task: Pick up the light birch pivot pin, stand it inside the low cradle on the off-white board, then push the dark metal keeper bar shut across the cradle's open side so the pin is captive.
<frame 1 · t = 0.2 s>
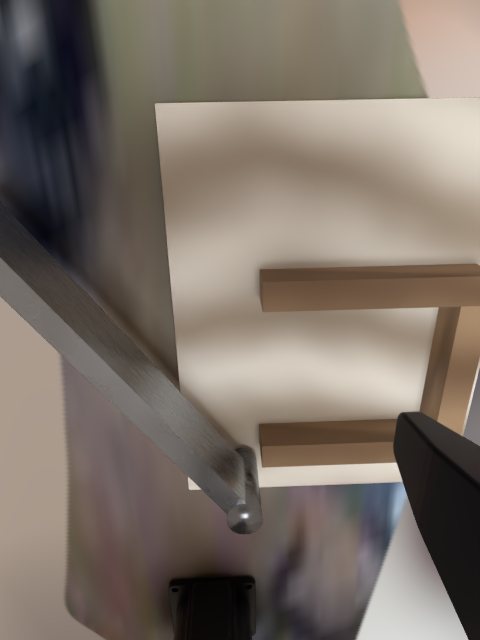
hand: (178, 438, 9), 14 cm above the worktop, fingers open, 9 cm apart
keeper bar: (129, 372, 20), point 4 cm above the worktop, hinge at 35.0°
cradle: (353, 353, 24), on the worktop
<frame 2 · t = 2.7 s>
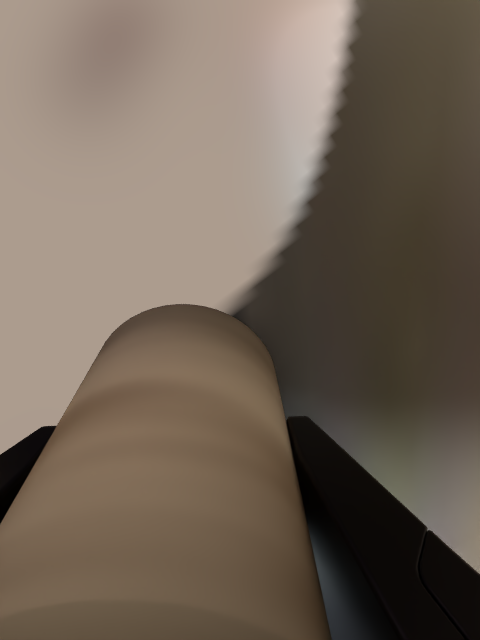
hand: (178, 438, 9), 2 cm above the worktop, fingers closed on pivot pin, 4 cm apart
pivot pin: (186, 388, 10), on the worktop, touching gripper
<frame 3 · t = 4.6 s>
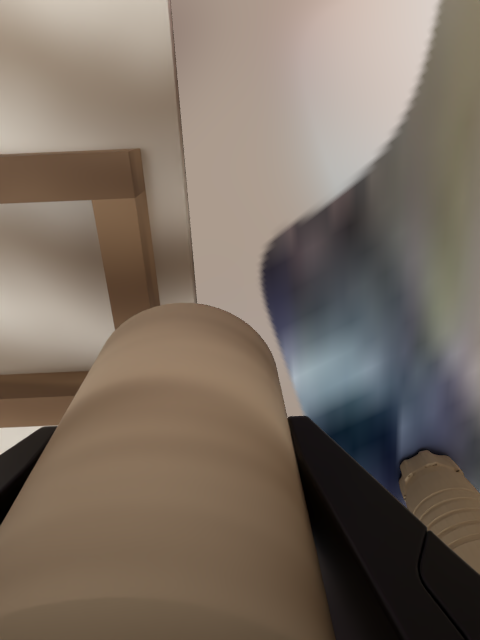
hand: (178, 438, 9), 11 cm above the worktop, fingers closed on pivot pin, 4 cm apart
pivot pin: (187, 387, 10), point 9 cm above the worktop, touching gripper
handle: (421, 466, 24), on the worktop
cradle: (38, 284, 19), on the worktop
when the fingers open (4 cm above the worktop, at t = 6.8 s): pivot pin drops 1 cm, resting on cradle.
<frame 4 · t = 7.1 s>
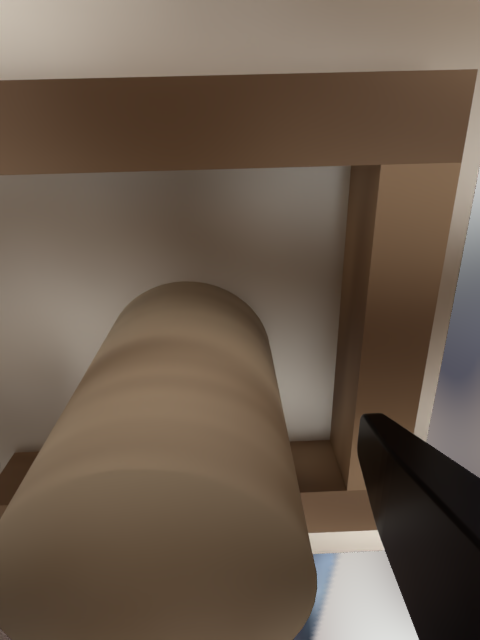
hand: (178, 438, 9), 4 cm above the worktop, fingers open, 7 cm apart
pivot pin: (190, 357, 12), point 1 cm above the worktop, touching cradle
cradle: (191, 310, 12), on the worktop
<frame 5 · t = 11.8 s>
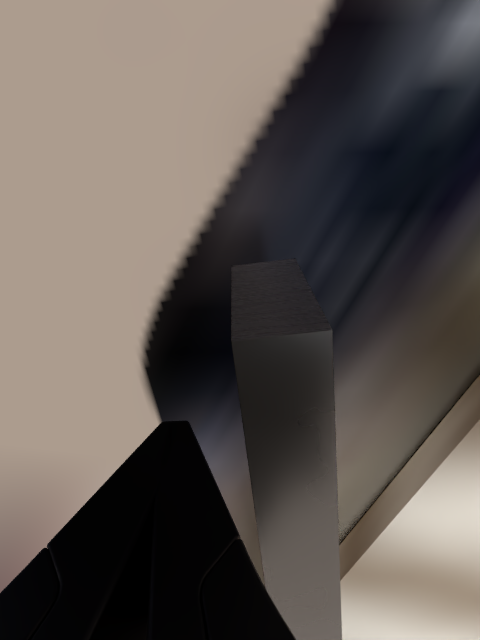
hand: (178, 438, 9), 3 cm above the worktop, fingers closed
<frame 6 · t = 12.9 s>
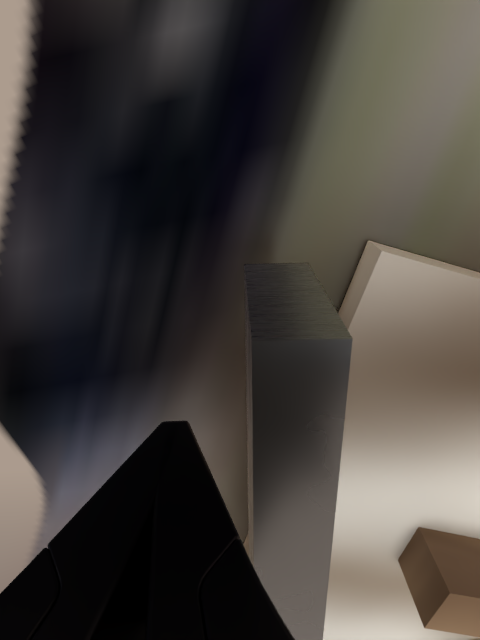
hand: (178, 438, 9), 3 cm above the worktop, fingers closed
cradle: (474, 628, 16), on the worktop
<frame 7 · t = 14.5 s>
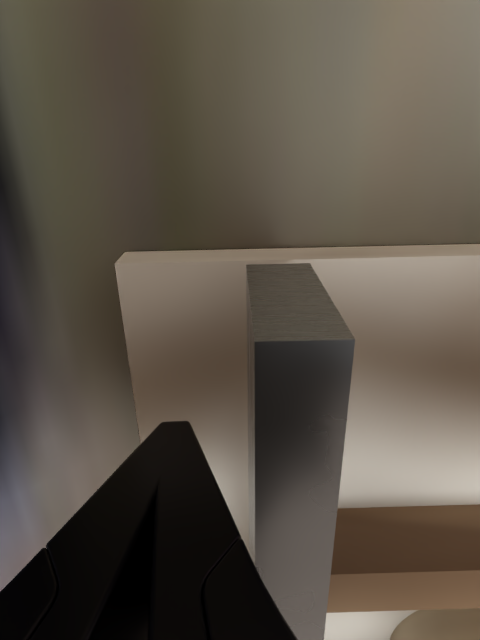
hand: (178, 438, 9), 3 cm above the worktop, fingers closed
pivot pin: (451, 638, 15), point 1 cm above the worktop, touching cradle
cradle: (443, 592, 16), on the worktop
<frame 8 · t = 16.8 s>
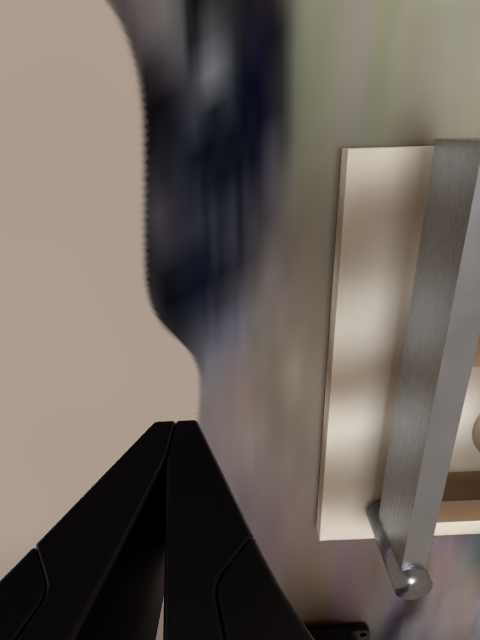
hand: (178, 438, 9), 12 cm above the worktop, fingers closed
keeper bar: (423, 394, 19), point 4 cm above the worktop, hinge at -0.1°
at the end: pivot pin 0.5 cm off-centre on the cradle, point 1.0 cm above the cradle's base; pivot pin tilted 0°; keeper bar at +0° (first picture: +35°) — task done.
